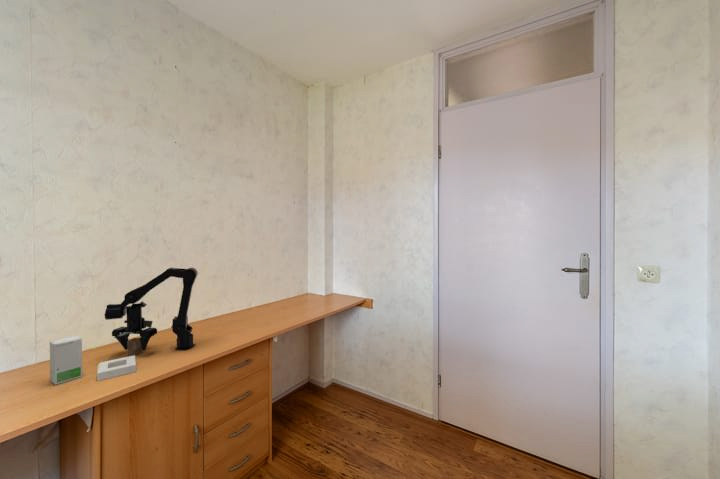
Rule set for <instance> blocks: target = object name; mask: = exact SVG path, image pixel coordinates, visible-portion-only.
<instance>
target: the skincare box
mask: <svg viewBox="0 0 720 479" xmlns="http://www.w3.org/2000/svg"><path fill="white" fill-rule="evenodd" d="M82 377H83V339H82V337H80V336H78V335H75V336H70V337H65V338H59V339H55V340H51V341H49V381H50V382H51V383H52V384H54V386H55V385H56V386H57V385H59V384H62V383H66V382H69V381H73V380H76V379H79V378H82Z"/></svg>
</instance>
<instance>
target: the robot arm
mask: <svg viewBox="0 0 720 479" xmlns="http://www.w3.org/2000/svg"><path fill="white" fill-rule="evenodd" d="M198 274H199V272H198V270H197V269H196V268H195V267H188V268H181V267H179V268H176V267H169V268H167V269H166V270H165V271H163V272H162V273H160V274H159V275H156V277H154V278H153V279H151V280H149V281H148V282H147V283H145V284H143V285H141V286H139V287H136V288H135V289H131V290H130V291H129V292H127V293H126V294H125V295H124V300H123V301H122V302H120V303H115V304H113V303H111V304H110V303H109V304H107V305H106V309H105V313H104V319H105V320H106V321H107V320H109V321H110V320H115V319H116V320H119V319H123V318H124V317H125V316H126V320H123V322H124V324H126V326H120V327H117V328H114V329H112V332H111V336H112V337H113V338H114V339H116V340H117V341H118V342H119V344H120V345H121V346H122V348H123V349H124V350H125V351H128V347H127V341H129V336H130V335H131V334H133V335H139V336H140V337H139V338H140V342H141V346H142V350H143V352H144V351H146V349H147V347H148V344H149V342H150V339H151V338H152V337H154V336H155V335H157V334H158V328H156V327H152V325H153V322H154V321H153V320H145V319H146V318H145V317H143V316H142V314H143V312H142V308H145V307H146V306H147V303H145V302H144V301H141V302H139V301H140V300H142V299H143V298H144V297H145V296H146V295H147V294H148V293H149V292H150V291H152V289H154V288H156V287H158V286H159V285H161V284H162V283H163V282H165V281H166V280H168V279H169V278H172V277H174V278H178V279H182V286H183V288H182V292H181V296H180V302H179V308H178V312H177V315H176V316H174V317H173V319H172V324H171V327H170V329H171V330H172V333H174V334H175V335H176V336H177V338H176V347H175V348H174V349H175V350H178V351H180V350H181V351H187V350H190V349H191V348H193V347H195V346H196V343H194V333H192V331H193V329H194V328H193V326H191V325H190V324H189V319H188V318H189V317H188V312H189V306H190V301H191V296H192V292H193V291H192V290H193V286H194V284H195V282H196V279H197V277H198Z"/></svg>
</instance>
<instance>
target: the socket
mask: <svg viewBox="0 0 720 479" xmlns="http://www.w3.org/2000/svg"><path fill="white" fill-rule="evenodd" d="M136 372H137V363H136V356H135V355H134V356H125V357H119V358H117V359H116V358H115V359H112V360H111V359H110V360H107V361H101V362H99V363H98V365H97V372H96V375H97V376H96V377H97V378H96V379H97V382H100V381H103V380H108V379H112V378H116V377H120V376H124V375H128V374H132V373H136Z"/></svg>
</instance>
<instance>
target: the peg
mask: <svg viewBox="0 0 720 479" xmlns="http://www.w3.org/2000/svg"><path fill="white" fill-rule="evenodd" d="M140 338H141V337H134V338H131V339H130V340H129V339H128V341H127V347H128V349H127V357H129V356H134V355H135V357H137V356H140V355H141V354H143V353H144V351H143V350H142V346H141V342H140Z"/></svg>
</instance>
